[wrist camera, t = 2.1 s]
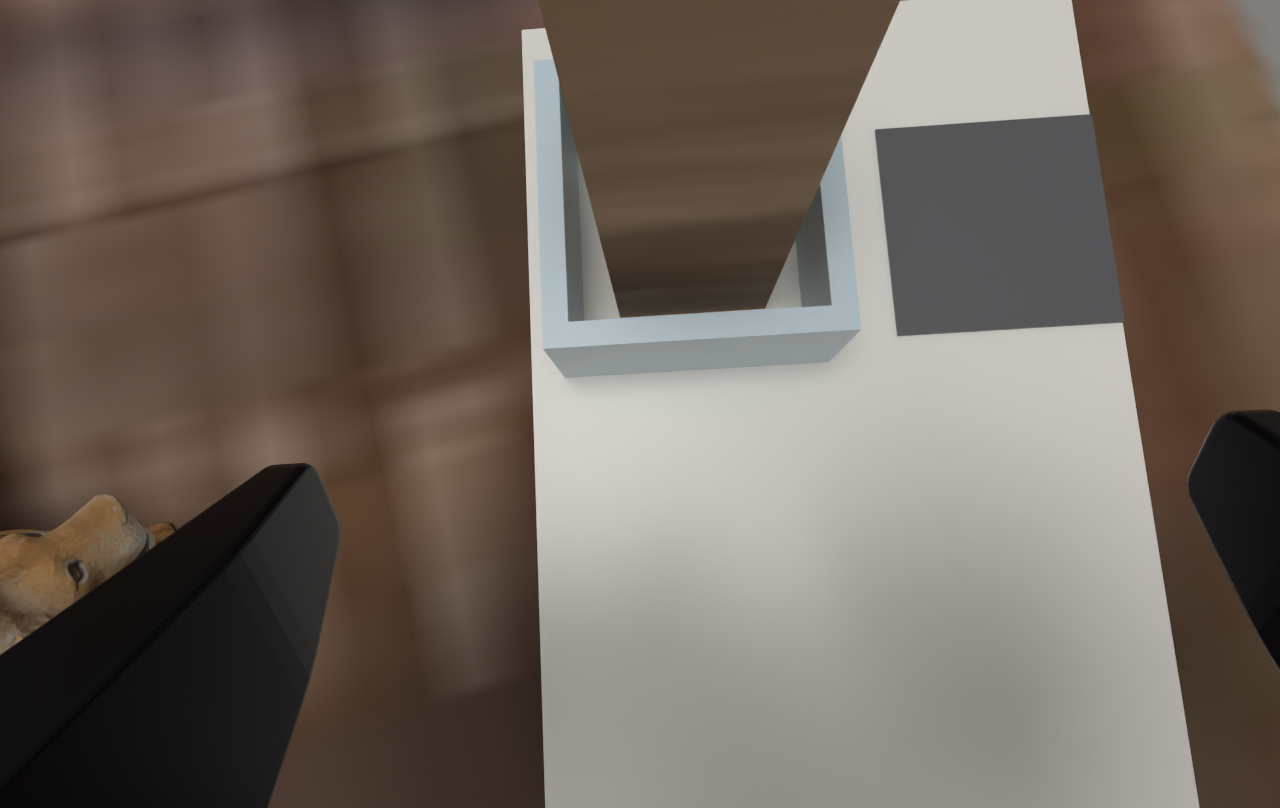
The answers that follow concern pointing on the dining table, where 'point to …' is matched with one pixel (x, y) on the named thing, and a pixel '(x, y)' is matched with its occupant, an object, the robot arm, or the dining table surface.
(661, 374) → the board
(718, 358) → the sleeve
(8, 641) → the lion figurine
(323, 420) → the dining table surface
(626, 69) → the walnut block
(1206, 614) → the dining table surface
